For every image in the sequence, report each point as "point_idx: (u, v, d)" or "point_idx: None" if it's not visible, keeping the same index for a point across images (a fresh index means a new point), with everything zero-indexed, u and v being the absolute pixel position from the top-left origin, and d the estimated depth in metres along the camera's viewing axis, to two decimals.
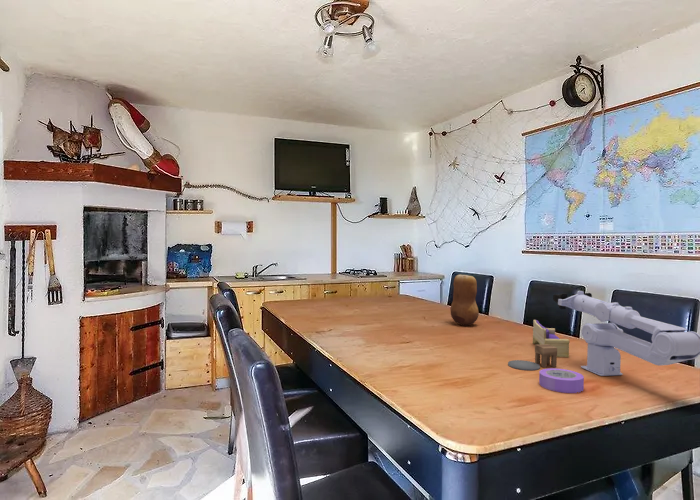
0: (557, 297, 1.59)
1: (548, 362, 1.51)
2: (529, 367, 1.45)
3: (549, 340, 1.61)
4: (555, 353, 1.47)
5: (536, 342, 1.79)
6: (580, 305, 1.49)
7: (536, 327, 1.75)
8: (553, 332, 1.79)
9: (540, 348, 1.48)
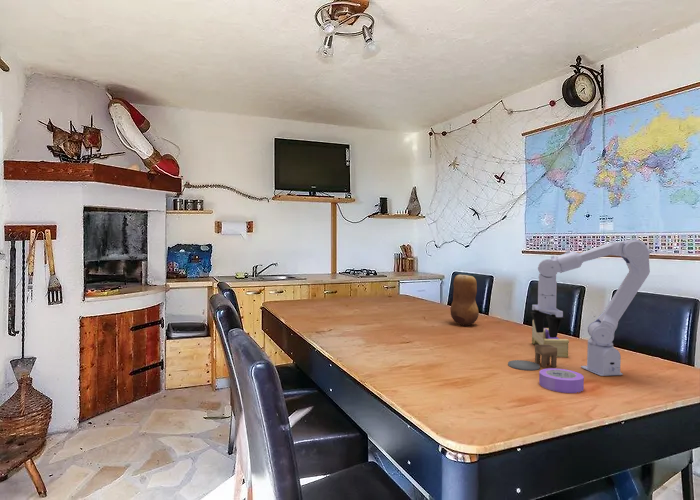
0: (552, 329, 1.45)
1: (548, 362, 1.51)
2: (529, 367, 1.45)
3: (548, 340, 1.61)
4: (555, 353, 1.47)
5: (535, 342, 1.79)
6: (552, 298, 1.46)
7: None
8: None
9: (540, 348, 1.48)
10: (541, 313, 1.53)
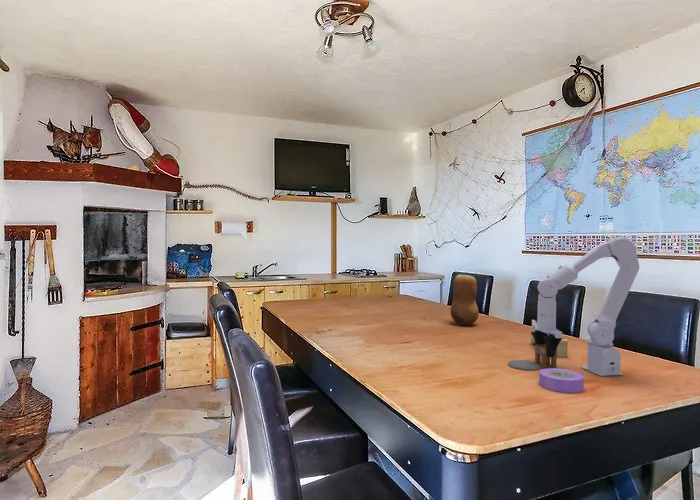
0: (550, 349, 1.46)
1: (548, 362, 1.51)
2: (529, 367, 1.45)
3: None
4: (555, 353, 1.47)
5: None
6: (551, 318, 1.47)
7: None
8: None
9: (540, 348, 1.48)
10: (542, 333, 1.52)
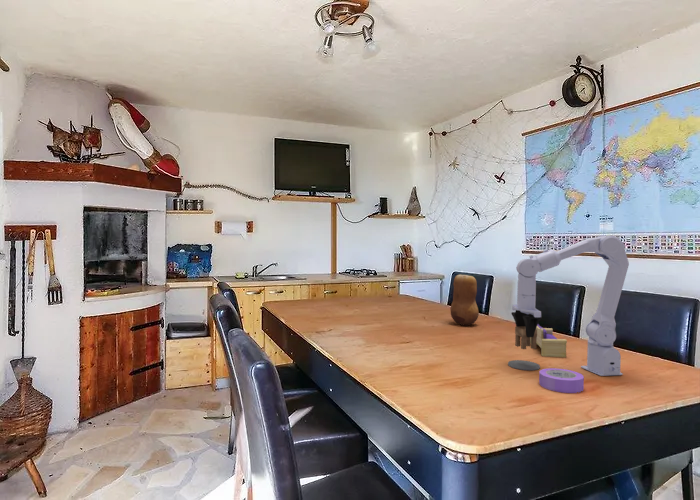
0: (529, 329, 1.45)
1: (528, 344, 1.50)
2: (529, 367, 1.45)
3: (546, 340, 1.61)
4: (535, 335, 1.46)
5: None
6: (531, 298, 1.45)
7: None
8: (551, 332, 1.78)
9: (520, 330, 1.47)
10: (522, 314, 1.51)
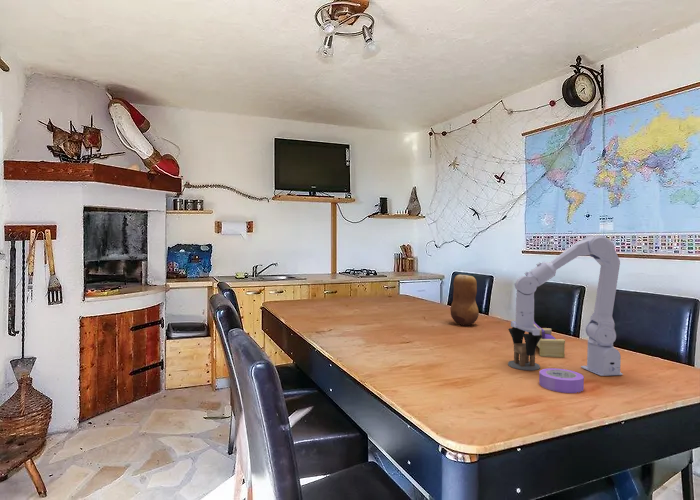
0: (530, 347, 1.44)
1: (527, 361, 1.50)
2: (529, 367, 1.45)
3: (545, 340, 1.60)
4: None
5: None
6: (529, 315, 1.45)
7: None
8: (549, 332, 1.78)
9: (518, 347, 1.47)
10: (519, 330, 1.52)
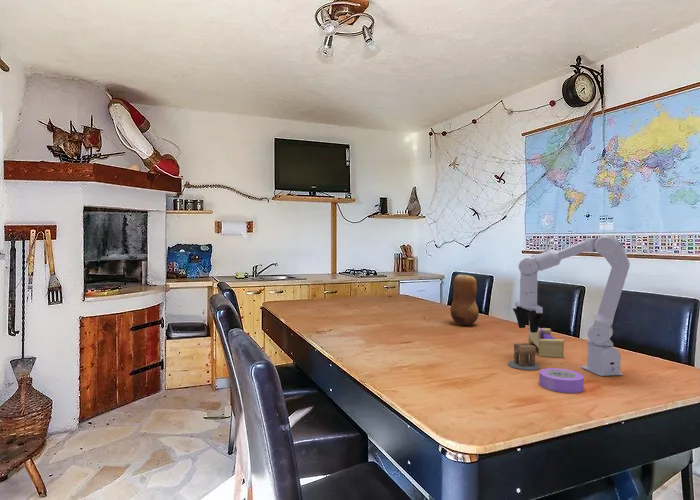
0: (533, 324, 1.53)
1: (527, 361, 1.50)
2: (529, 367, 1.45)
3: (544, 340, 1.60)
4: (533, 352, 1.46)
5: (532, 342, 1.79)
6: (533, 295, 1.54)
7: None
8: (549, 332, 1.78)
9: (518, 347, 1.47)
10: (523, 309, 1.61)
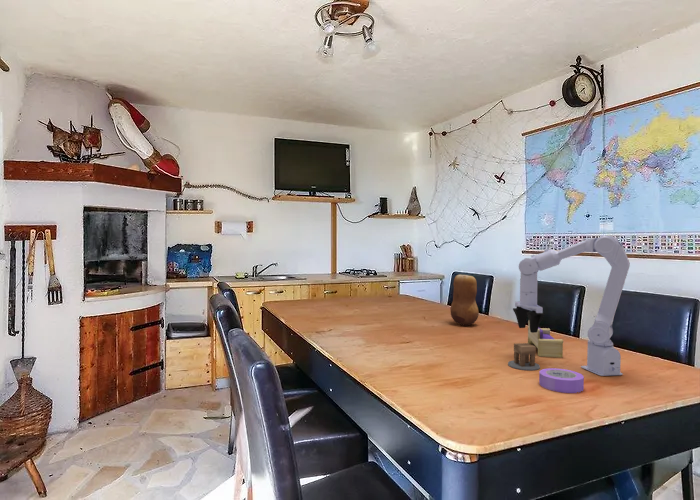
0: (533, 324, 1.53)
1: (527, 361, 1.50)
2: (529, 367, 1.45)
3: (543, 340, 1.60)
4: (533, 352, 1.46)
5: (531, 342, 1.79)
6: (533, 295, 1.54)
7: None
8: (548, 332, 1.78)
9: (518, 347, 1.47)
10: (523, 309, 1.61)
